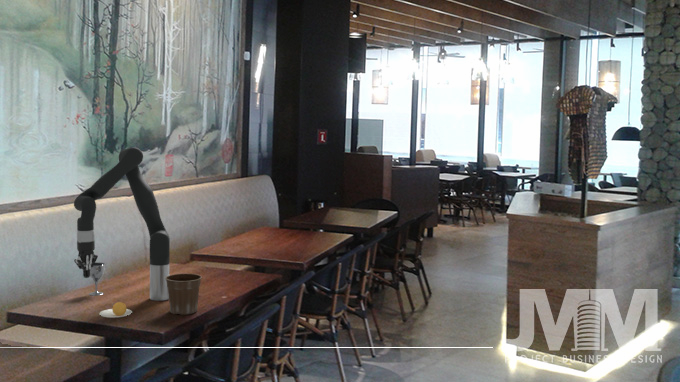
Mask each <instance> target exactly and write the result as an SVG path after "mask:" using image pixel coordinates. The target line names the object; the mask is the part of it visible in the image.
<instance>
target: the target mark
mask: <svg viewBox="0 0 680 382" xmlns="http://www.w3.org/2000/svg"><path fill="white" fill-rule="evenodd" d="M131 313H132V314H133V311H132V309H128V308H127V309H126V312H125V313H124V314H123V315H121V316H117V315H115V314H114V313H113V311H112V308H110V309H109V308H108V309H105V310H104V309H103V310H101V311H100V312H99V316H100V315H101V317H102V318H123V317H127V315H128V316H130V315H131Z"/></svg>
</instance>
